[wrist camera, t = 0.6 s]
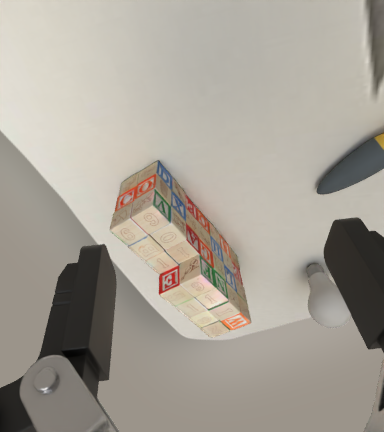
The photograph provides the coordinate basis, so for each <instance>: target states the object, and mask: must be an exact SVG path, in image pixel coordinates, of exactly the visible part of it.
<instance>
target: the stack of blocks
mask: <svg viewBox="0 0 384 432" xmlns="http://www.w3.org/2000/svg"><path fill="white" fill-rule="evenodd" d="M110 231H111V232H112V233H113V234H114V235H115V236H116V237H118V238H119V239H120V240H121V241H122V242H123V243H125V244H126V245H128V248H129V249H131V250H132V251H133V252H134V253H135V254H136V255H137V256H139V257H140V258H141V259H142V260H143V261H145V263H146V264H148V265H149V266H150V267H151V268H152V269H153V270H155V271H156V272H157V273H159V274H160V276H159V295H160V296H161V297H162V298H164V299H165V300H166V301H167V302H168V303H170V304H171V305H172V306H174V307H175V308H176V309H178V310H179V311H180V312H181V313H183V314H184V315H185V316H186V317H188V319H189V320H191V321H192V322H193V323H194V324H195V325H197V326H198V327H199V328H200V329H201V330H202V331H203V332H205V333H206V334H207V335H208V336H209V337H211V338H213V337H216V336H219V335H221V334H224V333H227V332H230V330H235V329H237V328H240V327H242V326H245V325H247V324H250V323H251V318H250V314H249V310H248V305H247V300H246V295H245V290H244V287H243V283H242V278H241V274H240V267H239V263H238V259H237V256H236V254H235V253H234V252H233V251H232V249H231V248H230V247H229V245H228V244H227V242H226V241H225V240H224V239H223V238H222V236H221V235H220V234H219V233H218V231H217V230H216V229H215V228H214V227H213V225H212V224H211V223H210V222H209V221H207V219H206V218H205V217H204V216H203V214H202V213H201V212H200V211H199V209H198V208H196V207H195V205H194V204H193V203H192V202H191V200H190V199H189V198H188V197H187V196H186V194H185V192H184V191H183V190H182V188H181V187H180V186H179V185H178V183H177V182H176V181H175V180H174V179H173V178H172V177H171V175H170V174H169V173H168V171H167V170H166V169H165V168H164V167H163V166H162V164H161V163H160V162H159V161H156V162H155V163H153V164H151V165H150V166H148V167H147V168H145V169H143V170H142V171H140V172H138V173H136V174H135V175H133V176H131V177H130V178H128V179H127V180H125V181H124V182H122V183H121V186H120V191H119V196H118V198H117V203H116V207H115V213H114V214H113V217H112V222H111V226H110Z"/></svg>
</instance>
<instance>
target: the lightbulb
mask: <svg viewBox="0 0 384 432" xmlns="http://www.w3.org/2000/svg"><path fill="white" fill-rule="evenodd" d="M306 272H307V275H308V278H309V280H308V282H309V285H310V295H309V300H308V309H309V313H310V315H311V316H312V318H313V319H314V320H315V321H316V322H317V323H319V324H320V325H322V326H325V327H328V328H337V327H341V326H343V325H345V324H346V323H347V322H348V321H349V320H350V318H351V314H350V312H349V309H348V307H347V305H346V303H345V301H344V299H343V297H342V295H341V293H340V291H339V289H338V287H337V286H336V285H335V284H334V283H332V281H331V280H330V279H329V277H328V275H327V274H325V272H324V270H323V268H322V267H321V266H320V265H318V264H312V265H310V266H309V267H308V268H307V270H306Z"/></svg>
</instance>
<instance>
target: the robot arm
mask: <svg viewBox="0 0 384 432" xmlns="http://www.w3.org/2000/svg"><path fill="white" fill-rule="evenodd" d="M324 259H325V262H326V265H327V267H328V269H329V271H330V273H331V275H332V277H333V279H334V281H335V283H336V285H337V287H338V289H339V291H340V293H341V295H342V297H343V299H344V301H345V303H346V305H347V307H348V309H349V312H350V314H351V316H352V318H353V320H354V322H355V324H356V326H357V327H358V330H359V332H360V334H361V336H362V338H363V340H364V342H365V344H366V346H367V348H368V349H375V348H382V350H383V352H384V237H383V236H381V235H380V234H379V233H377V232H376V231H368V229H367V228H366V226H365V225H364V223H363V222H362V220H361V219H359V218H348V219H339V220H335V221H334V222H333V224H332V226H331V229H330V232H329V235H328V238H327V241H326V244H325V247H324ZM115 297H116V274H115V270H114V267H113V264H112V262H111V259H110V256H109V253H108V250H107V248H106V246H105V244H102V245H92V246H83V247H82V248H81V250H80V255H79V260H78V263H72V264H67V266H66V267H65V269H64V270H63V271H62V273H61V274H60V276H59V277H58V281H57V286H56V290H55V295H54V298H53V302H52V304H53V306H52V307H51V311H50V315H49V319H48V323H47V327H46V332H45V336H44V340H43V344H42V348H41V352H40V355H39V357H38V359H37V361H36V362H35V363H34V364H33V365H32V366H31V367H30V368H29V369H28V371H27V372H26V373H25V375H24V376H22V377H21V378H19V379H18V380H16V381H14V382H12V383H10V384H8V385H6V386H4V387H1V388H0V432H119V430H118V429H117V427H116V426H115V424H114V423H113V421H112V420H111V418H110V416H109V415H108V413H107V412H106V410H105V409H104V407H103V406H102V404H101V403H100V401H99V400H98V398H97V391H98V382H99V381H104V380H109V370H110V358H111V346H112V334H113V321H114V309H115ZM364 432H384V358H383V361H382V367H381V371H380V376H379V381H378V386H377V391H376V395H375V400H374V405H373V410H372V413H371V416H370V419H369V421H368V423H367V425H366V427H365V430H364Z"/></svg>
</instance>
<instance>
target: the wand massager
mask: <svg viewBox="0 0 384 432" xmlns="http://www.w3.org/2000/svg"><path fill="white" fill-rule="evenodd" d="M382 169H384V133H383V134H381V135H378V136H376V137H374V138H372V139H371V140H369V141H368V142H366V143H365V144H363V145H362V146H360V147H359V148H358V149H356V150H355V151H354V152H352V153H351V154H350V155H348V156H347V157H346V158H345V159H344V160H342V161H341V162H340V163H339V164H338V165H337V166H336V167H335V168H333V169H332V170H331V171H330V172H329V173H328V174H327V175H326V177H325V178H324V179H323V180H322V181H321V183H320V184H319V186H318V188H317V193H318V194H329V193H333V192H336V191H339V190H342V189H344V188H347V187H349V186H351V185H354V184H356V183H358V182H360V181H362V180H364V179H366V178H368V177H370V176H372V175H373V174H375V173H377V172H379V171H380V170H382Z"/></svg>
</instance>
